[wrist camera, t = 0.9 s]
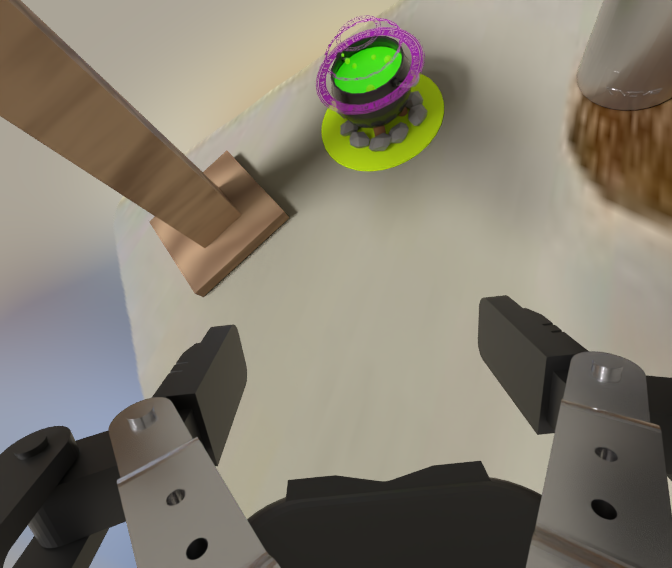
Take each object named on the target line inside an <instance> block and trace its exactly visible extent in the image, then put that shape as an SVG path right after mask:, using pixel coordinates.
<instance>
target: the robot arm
mask: <svg viewBox="0 0 672 568" xmlns="http://www.w3.org/2000/svg"><path fill="white" fill-rule="evenodd" d="M577 83H578V86H579V89H580V90H581V92H582V93H583V94H584V95H585V96H586V97H587V98H588V99H589V100H591V101H592V102H594V103H596V104H598V105H600V106H603V107H607V108H610V109H618V110H637V109H643V108H649V107H652V106H655V105H658V104H660V103H662V102H664V101H666V100H668V99H670V98H672V0H603V3H602V6H601V9H600V11H599V14H598V17H597V20H596V22H595V25H594V28H593V30H592V33H591V35H590V38H589V41H588V44H587V46H586V49H585V52H584V55H583V57H582V60H581V63H580V66H579V69H578V72H577ZM478 347H479V351H480V355H481V357H482V359H483V361H484V362H485V363H486V365H487V366H488V368H489V369H490V370H491V372H492V373H493V374H494V376H495V377H496V378H497V380H498V381H499V383H500V384H501V385H502V387H503V388H504V389H505V391H506V392H507V394H508V395H509V396H510V398H511V399H512V400H513V402H514V403H515V405H516V406H517V407H518V409H519V410H520V411H521V413H522V414H523V416H524V417H525V418H526V420H527V421H528V422H529V424H530V425H531V426H532V428H533V429H534V431H535V432H536V433H537V435H539V434H549V433H555V434H554V439H553V444H552V449H551V454H550V459H549V463H548V468H547V473H546V478H545V483H544V488H543V493H542V495H541V494H539V493H537V492H535V491H533V490H531V489H528V488H526V487H524V486H521V485H518V484H515V483H512V482H509V481H505V480H501V479H497V478H490V477H489V476H488V474H487V472H486V470H485V468H484V466H483V464H482V462H481V461H474V462H464V463H454V464H444V465H434V466H431V467H428V468H425V469H422V470H419V471H416V472H413V473H411V474H408V475H405V476H402V477H399V478H396V479H393V480H390V481H385V482H382V481H374V480H366V479H358V478H351V477H343V476H325V477H315V478H305V479H295V480H288V486H287V494H286V497H285V498H283V499H280V500H278V501H276V502H273V503H271V504H269V505H267V506H266V507H264V508H262V509H261V510H259V511H257V512H256V513H255V514H253V515H252V516H251V517H249V518H248V519H246V517H245V515H244V514H243V512H242V510H241V509H240V507H239V505H238V504H237V502H236V500H235V499H234V497H233V495H232V494H231V492H230V490H229V489H228V487H227V485H226V484H225V482H224V480H223V479H222V477H221V475H220V474H219V472H218V470H217V469H216V467H215V466H218V464H219V461H220V458H221V455H222V452H223V449H224V446H225V443H226V440H227V438H228V435H229V432H230V429H231V426H232V423H233V420H234V417H235V414H236V412H237V409H238V406H239V403H240V400H241V397H242V394H243V391H244V388H245V386H246V382H247V367H246V362H245V358H244V354H243V350H242V346H241V341H240V337H239V333H238V330H237V327H236V326H235V325H226V326H217V327H211V328H210V329H209V331H208V332H207V334H206V335H205V337H204V338H203V340H202V341H201V343H196V344H194V345H193V346H192V347H190V348H189V349H188V350H186V351H185V352H184V353H183V354H182V355H181V357H180V358H179V360H178V361H177V363H176V365H174V367H173V368H172V370H171V371H170V372H171V373H169V374H168V375H167V377H166V378H165V380H164V381H163V382H162V384H161V385H160V387H159V388H158V390H157V391H156V392H155V394H154V395H153V397H152V398H149V399H145V400H142V401H140V402H137V403H135V404H133V405H131V406H129V407H127V408H126V409H124V410H123V411H122V412H120V413H119V414H118V415H117V416H116V417H115V418H114V419H113V421H112V422H111V424H110V426H109V430H108V431H106V432H103V433H99V434H96V435H93V436H89V437H86V438H83V439H80V440H77V441H75V439H74V437H73V435H72V433H71V431H70V429H69V428H67V427H64V426H54V427H48V428H45V429H42V430H39V431H36V432H34V433H32V434H29V435H27V436H25V437H24V438H22V439H20V440H18V441H17V442H15V443H14V444H12V445H11V446H10V447H8V448H7V449H6V450H5V451H4V452H3V453H1V454H0V568H3V564H4V561H5V558H6V556H7V554H8V552H9V550H10V549H11V547H12V546H13V544H14V543H15V542H16V540H17V539H18V537H19V536H20V535H21V533H22V532H23V531H24V529H25V528H26V527H27V525H28V526H29V527H30V529H31V530H32V532H33V534H34V537H33V539H32V540H31V542H30V543H29V545H28V546H27V547H26V549H25V550H24V552H23V553H22V555H21V556H20V557H19V559H18V560H17V562H16V563H15V565H14V566H13V567H12V568H89V566H90V564H91V562H92V560H93V558H94V556H95V554H96V552H97V551H98V549H99V547H100V545H101V543H102V541H103V539H104V537H105V535H106V533H107V531H108V529H109V528H110V527H112V526H115V525H117V524H120V523H123V522H125V521H126V523H127V527H128V531H129V535H130V539H131V543H132V548H133V552H134V556H135V560H136V564H137V568H672V513H671V505H670V497H669V489H668V482H667V477H668V478H669V479H670V480H671V481H672V378H667V377H655V376H646V375H645V373H644V371H643V370H642V369H641V368H640V367H639V366H638V365H637V364H635V363H633V362H632V361H630V360H628V359H625V358H623V357H620V356H617V355H614V354H609V353H604V352H589V351H588V350H586V349H585V348H584V347H582V346H581V345H580V344H579V343H577V342H576V341H575V340H574V339H572V338H571V337H570V336H568V335H567V334H566V333H565V332H562V331H561V329H559V328H558V327H557V326H556V325H553V323H552V322H551V321H549V320H548V319H547V318H545V317H544V316H543V315H541V314H539V313H537V312H534V311H532V310H529V309H527V308H522V307H521V306H519V305H518V304H517V303H516V302H515V301H513V300H512V299H511V298H510V297H508V296H506V295H505V296H496V297H486V298H482V299H481V300H480V304H479V326H478Z"/></svg>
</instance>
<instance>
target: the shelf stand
mask: <svg viewBox="0 0 672 568" xmlns="http://www.w3.org/2000/svg"><path fill="white" fill-rule="evenodd" d="M0 116H1V117H3V118H4V119H6V120H7V121H9V122H10V123H12V124H13V125H15V126H17V127H18V128H20V129H22V130H23V131H24V132H26V133H27V134H29V135H30V136H32V137H34V138H35V139H37V140H38V141H40V142H41V143H43V144H44V145H46V146H47V147H49V148H51V149H52V150H54V151H55V152H57V153H58V154H60V155H61V156H63V157H65V158H66V159H68V160H69V161H71V162H72V163H74V164H75V165H77V166H78V167H80V168H81V169H83V170H85V171H86V172H88V173H89V174H91V175H92V176H94V177H95V178H97V179H98V180H100V181H102V182H103V183H105V184H106V185H108V186H109V187H111V188H113V189H114V190H116V191H117V192H119V193H120V194H122V195H123V196H125V197H126V198H128V199H129V200H131V201H132V202H134V203H136V204H137V205H139V206H140V207H142V208H143V209H145V210H146V211H148V212H149V213H151V214H153V215H154V216H155V217H154V218H153V219H152V220H151V221H150V224H151V225H152V227H153V228H154V230H155V232H156V233H157V235H158V236H159V238H160V239H161V241H162V243H163V244H164V246H165V247H166V249H167V250H168V252H169V254H170V255H171V257H172V258H173V260H174V261H175V263H176V265H177V266H178V268H179V269H180V271H181V272H182V274H183V276H184V277H185V279H186V280H187V282H188V283H189V285H190V286H191V288H192V290H193V291H194V293H195V294H197V295H200V296H202V297H204V296H205V295H206V294H207V293H208V292H209V291H210V290H211V289H212V288H214V287H215V286H216V285H217V284H218V283H219V282H220V281H221V280H222V279H223V278H224V277H226V276H227V275H228V274H229V273H230V272H231V271H232V270H233V269H234V268H235V267H236V266H238V265H239V264H240V263H241V262H242V261H243V260H244V259H245V258H246V257H247V256H248V255H250V254H251V253H252V252H253V251H254V250H255V249H256V248H257V247H258V246H259V245H260V244H262V243H263V242H264V241H265V240H266V239H267V238H268V237H269V236H270V235H271V234H272V233H274V232H275V231H276V230H277V229H278V228H279V227H280V226H281V225H282V224H283V223H284V222H286V221H287V220H288V219H289V217H288V215H287V214H286V213H285V212H284V211H283V210H282V209H281V208H280V206H279V205H278V204H277V203H276V202H275V201H274V200H273V199H272V198H271V197H270V196H269V195H268V194H267V193H266V192H265V190H264V189H263V188H262V187H261V186H260V185H259V184H258V183H257V182H256V181H255V180H254V179H253V178H252V177H251V176H250V174H249V173H248V172H247V171H246V170H245V169H244V168H243V167H242V166H241V165H240V164H239V163H238V162H237V161H236V160H235V159H234V157H233V156H232V155H231V154H230V153H229V152H228V151H226V152H225V153H224V154H222V155H221V156H220V157H219V158H218V159H217V160H216V161H215V162H214V163H213V164H212V165H211V166H209V167H208V168H207V169H206V170H205V171H204V172H202V171H201V170H200V169H199V168H198V167H196V166H195V165H194V164H193V163H192V162H191V161H190V160H189V159H188V158H187V157H186V156H185V155H184V154H183V153H182V152H181V151H180V150H178V149H177V148H176V147H175V146H174V145H173V144H172V143H171V142H170V141H169V140H168V139H167V138H166V137H165V136H164V135H163V134H161V133H160V132H159V131H158V130H157V129H156V128H155V127H154V126H153V125H152V124H151V123H150V122H149V121H148V120H147V119H146V118H145V117H144V116H142V115H141V114H140V113H139V112H138V111H137V110H136V109H135V108H134V107H133V106H132V105H131V104H130V103H129V102H128V101H127V100H126V99H124V98H123V97H122V96H121V95H120V94H119V93H118V92H117V91H116V90H115V89H114V88H113V87H112V86H111V85H109V83H107V82H106V81H105V80H104V79H103V78H102V77H101V76H100V75H99V74H98V73H97V72H96V71H95V70H94V69H93V68H92V67H91V66H89V65H88V64H87V63H86V62H85V61H84V60H83V59H82V58H81V57H80V56H79V55H78V54H77V53H76V52H75V51H74V50H73V49H71V48H70V47H69V46H68V45H67V44H66V43H65V42H64V41H63V40H62V39H61V38H60V37H59V36H58V35H57V34H55V32H53V31H52V30H51V29H50V28H49V27H48V26H47V25H46V24H45V23H44V22H43V21H42V20H41V19H40V18H39V17H38V16H36V15H35V14H34V13H33V12H32V11H31V10H30V9H29V8H28V7H27V6H26V5H25V4H24V3H23V2H22V1H21V0H0Z"/></svg>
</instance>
